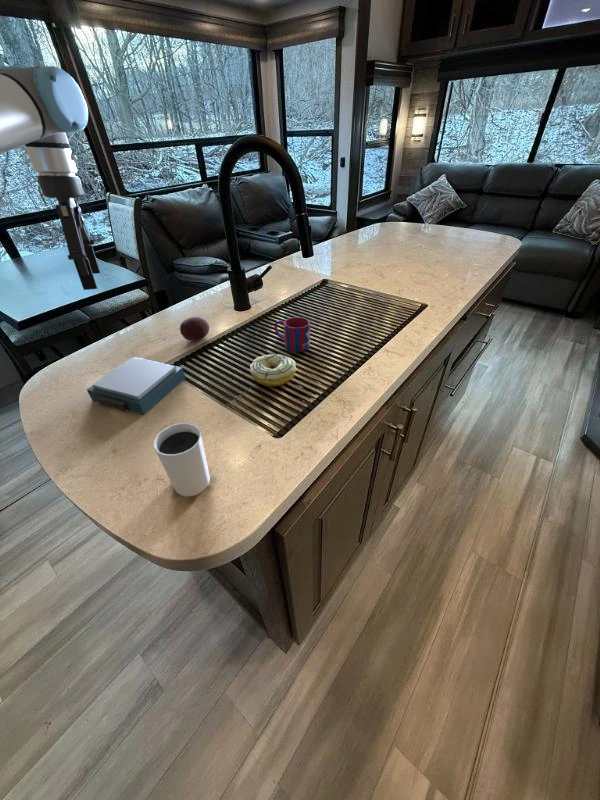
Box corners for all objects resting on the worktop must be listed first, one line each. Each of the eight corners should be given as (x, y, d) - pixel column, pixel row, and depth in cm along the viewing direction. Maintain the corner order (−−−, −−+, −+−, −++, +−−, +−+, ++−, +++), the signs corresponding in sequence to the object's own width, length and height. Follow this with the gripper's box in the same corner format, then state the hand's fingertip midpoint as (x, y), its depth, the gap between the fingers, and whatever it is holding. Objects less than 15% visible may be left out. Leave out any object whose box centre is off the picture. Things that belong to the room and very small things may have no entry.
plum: (176, 339, 93) (171, 319, 89) (201, 329, 98) (197, 309, 94) (190, 348, 89) (185, 327, 85) (216, 337, 94) (212, 317, 90)
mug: (301, 354, 85) (300, 330, 81) (270, 344, 90) (268, 321, 86) (314, 344, 90) (314, 320, 86) (284, 334, 94) (283, 312, 90)
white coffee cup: (163, 494, 52) (143, 451, 46) (184, 462, 57) (169, 419, 51) (201, 502, 51) (187, 459, 45) (219, 469, 56) (208, 426, 50)
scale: (140, 418, 67) (134, 403, 64) (88, 403, 71) (80, 389, 68) (185, 378, 78) (181, 364, 75) (138, 367, 82) (133, 354, 79)
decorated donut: (282, 359, 84) (281, 346, 81) (304, 380, 76) (304, 366, 74) (244, 371, 80) (242, 358, 77) (263, 394, 72) (262, 380, 70)
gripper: (72, 178, 60) (108, 294, 72) (83, 172, 78) (110, 266, 91) (22, 177, 57) (68, 298, 70) (46, 171, 76) (79, 268, 88)
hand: (92, 280), depth 80 cm, fingers open, 13 cm apart
